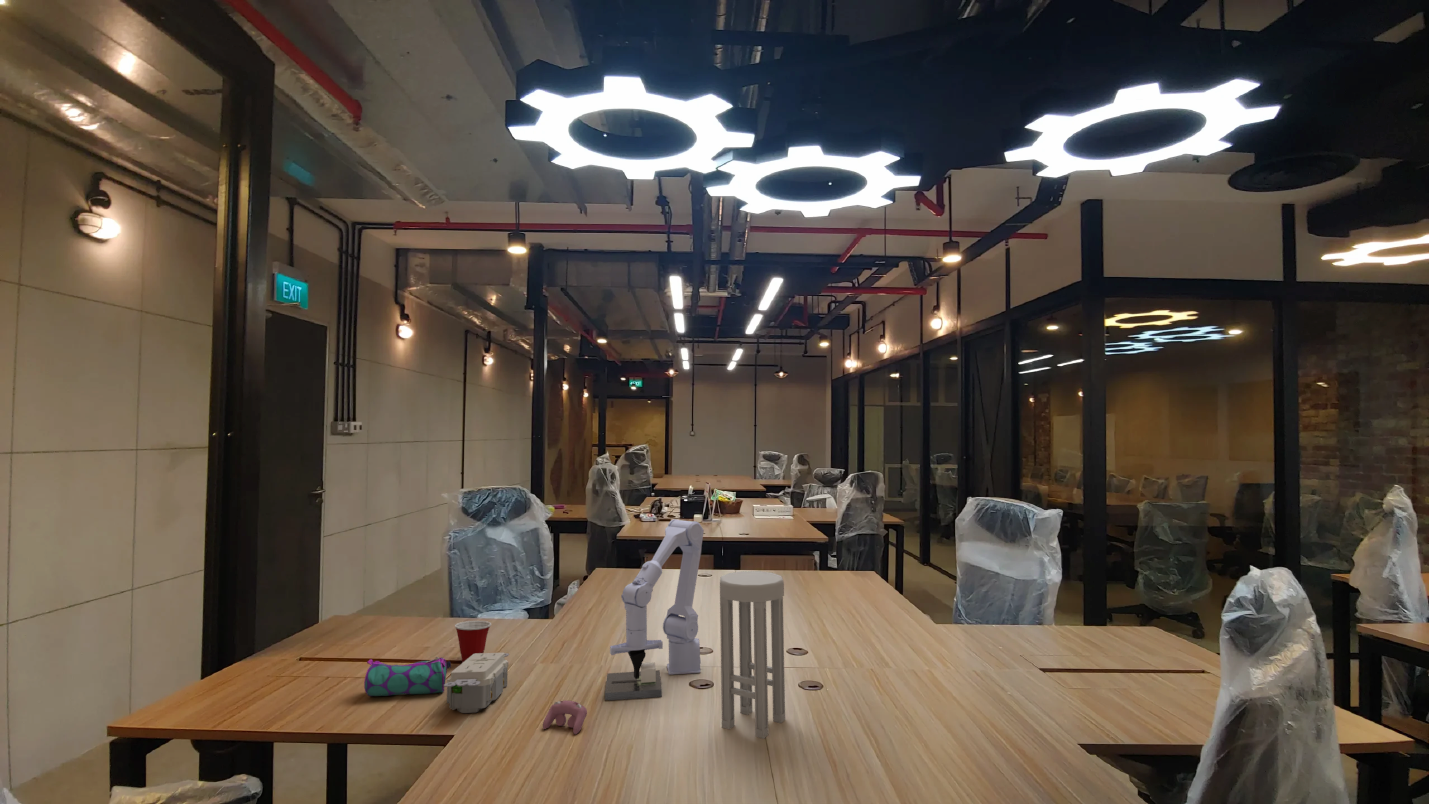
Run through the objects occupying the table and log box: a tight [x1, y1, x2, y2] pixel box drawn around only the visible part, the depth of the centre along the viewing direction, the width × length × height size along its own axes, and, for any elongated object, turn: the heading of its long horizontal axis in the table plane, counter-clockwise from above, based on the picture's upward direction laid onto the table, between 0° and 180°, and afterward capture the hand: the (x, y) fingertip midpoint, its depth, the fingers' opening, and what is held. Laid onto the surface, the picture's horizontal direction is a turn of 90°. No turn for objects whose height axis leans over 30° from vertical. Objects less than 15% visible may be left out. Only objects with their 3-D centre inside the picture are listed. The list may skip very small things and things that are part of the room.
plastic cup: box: [454, 620, 492, 663], centre depth 198 cm, size 11×11×12 cm
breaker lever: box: [640, 661, 657, 683], centre depth 176 cm, size 4×5×4 cm
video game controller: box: [542, 699, 588, 735], centre depth 153 cm, size 10×5×7 cm, turn 72°
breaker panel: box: [604, 670, 663, 701], centre depth 176 cm, size 15×14×2 cm
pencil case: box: [363, 656, 452, 697], centre depth 175 cm, size 21×9×10 cm, turn 100°
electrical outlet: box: [444, 652, 510, 714], centre depth 170 cm, size 12×28×10 cm, turn 2°
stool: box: [719, 570, 786, 740], centre depth 154 cm, size 16×16×35 cm
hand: (636, 677), depth 176 cm, fingers closed
